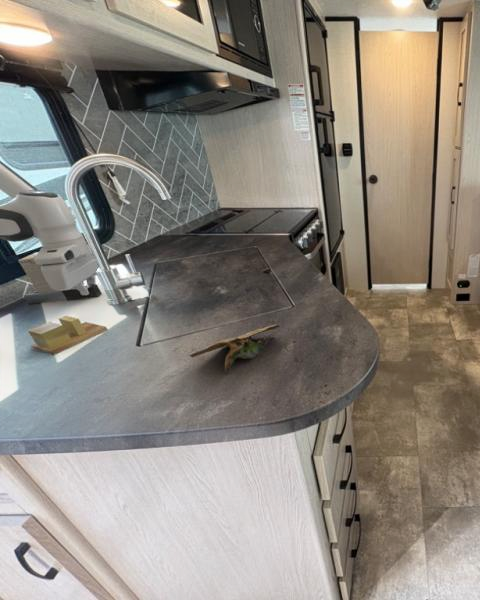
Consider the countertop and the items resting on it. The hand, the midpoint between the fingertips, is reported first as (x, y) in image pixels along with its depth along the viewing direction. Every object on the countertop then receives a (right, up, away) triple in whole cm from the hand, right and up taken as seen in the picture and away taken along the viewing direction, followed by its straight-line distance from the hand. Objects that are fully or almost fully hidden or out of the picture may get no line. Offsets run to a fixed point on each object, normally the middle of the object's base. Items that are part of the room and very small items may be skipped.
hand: (90, 291), depth 97 cm
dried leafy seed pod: (+61, -15, -29) cm, 69 cm away
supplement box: (-13, -1, +3) cm, 14 cm away
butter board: (+16, -12, -21) cm, 29 cm away
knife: (-6, -2, -1) cm, 6 cm away
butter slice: (+17, -10, -20) cm, 28 cm away
